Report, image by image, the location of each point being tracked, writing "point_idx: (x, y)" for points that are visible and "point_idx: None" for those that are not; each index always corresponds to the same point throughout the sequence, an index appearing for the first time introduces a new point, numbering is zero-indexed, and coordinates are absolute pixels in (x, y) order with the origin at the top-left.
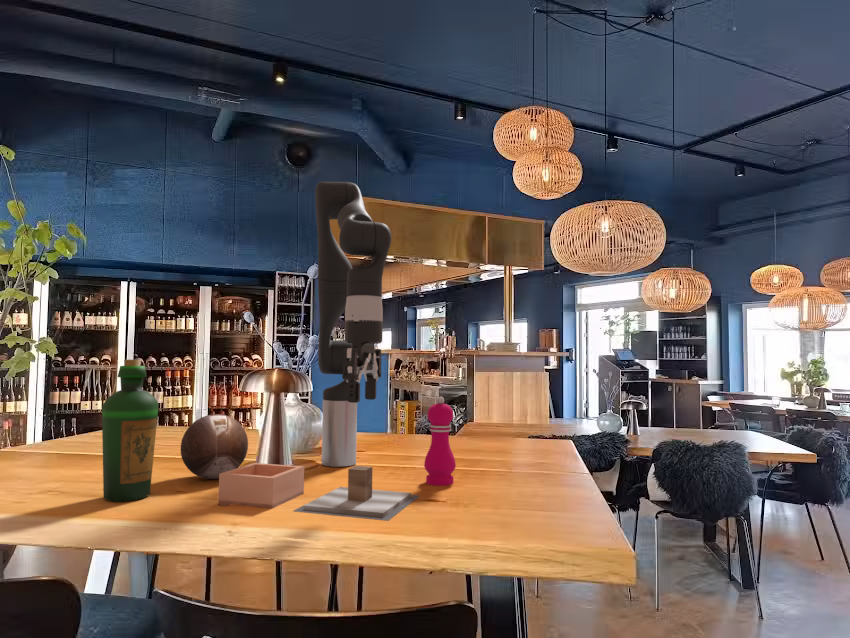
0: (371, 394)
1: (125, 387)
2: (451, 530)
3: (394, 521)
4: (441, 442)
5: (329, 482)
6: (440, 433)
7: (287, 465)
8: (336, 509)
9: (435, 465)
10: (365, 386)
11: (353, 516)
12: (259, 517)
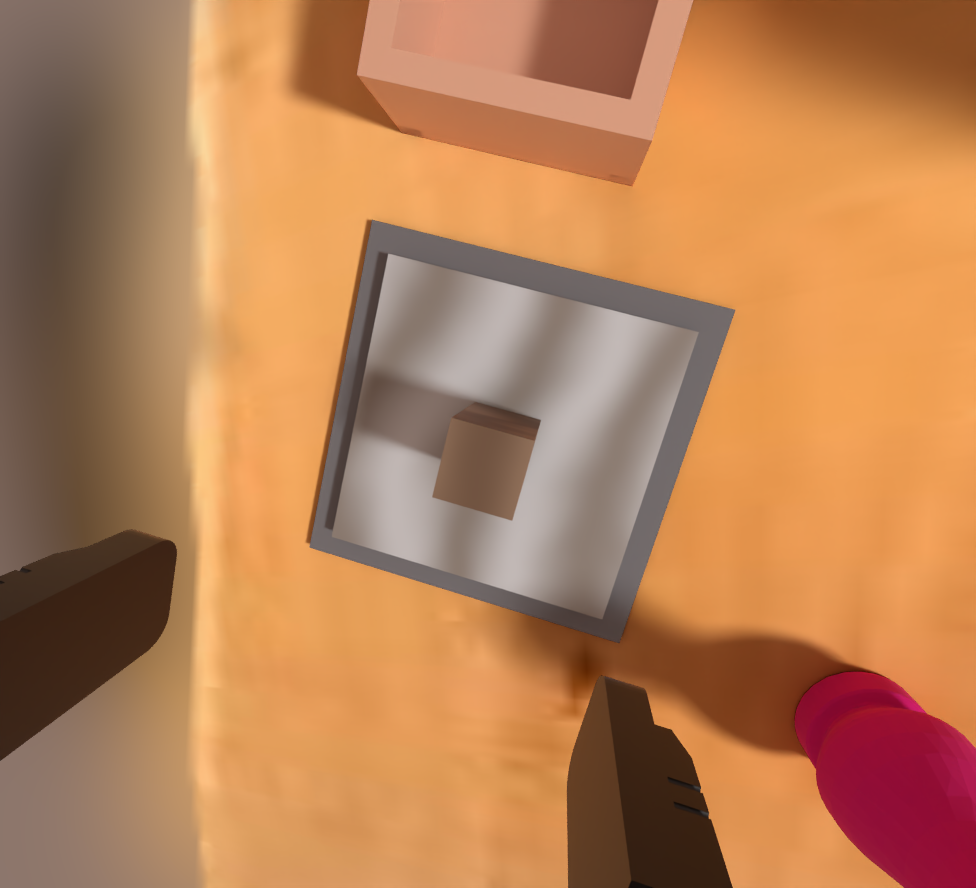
0: (580, 781)
1: None
2: (275, 701)
3: (331, 560)
4: None
5: (913, 238)
6: None
7: (682, 25)
8: (363, 380)
9: (831, 766)
10: (617, 797)
11: (335, 441)
12: (314, 118)
